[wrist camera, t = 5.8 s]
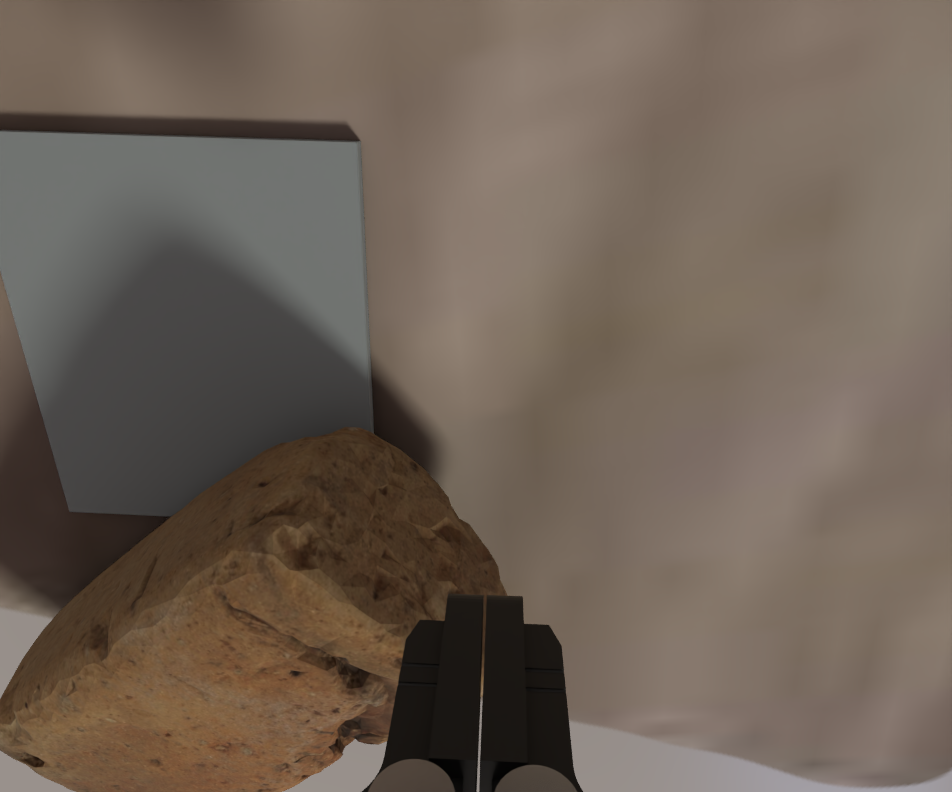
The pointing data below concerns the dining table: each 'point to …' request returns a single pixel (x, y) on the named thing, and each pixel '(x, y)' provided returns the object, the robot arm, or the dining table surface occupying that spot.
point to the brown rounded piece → (248, 627)
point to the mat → (183, 303)
